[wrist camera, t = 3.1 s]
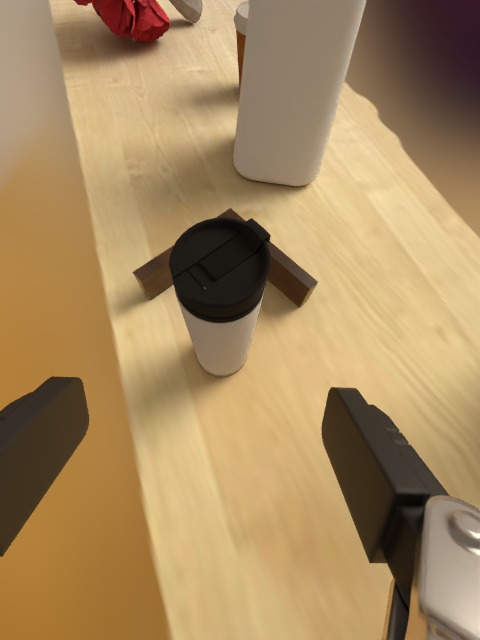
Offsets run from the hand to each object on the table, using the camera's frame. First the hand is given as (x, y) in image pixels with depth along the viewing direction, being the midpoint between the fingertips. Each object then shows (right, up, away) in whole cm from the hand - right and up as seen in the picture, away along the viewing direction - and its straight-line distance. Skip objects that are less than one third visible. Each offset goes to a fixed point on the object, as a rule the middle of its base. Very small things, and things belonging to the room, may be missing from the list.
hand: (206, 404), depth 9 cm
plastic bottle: (+8, +33, +41) cm, 53 cm away
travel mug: (-1, -1, +25) cm, 25 cm away
